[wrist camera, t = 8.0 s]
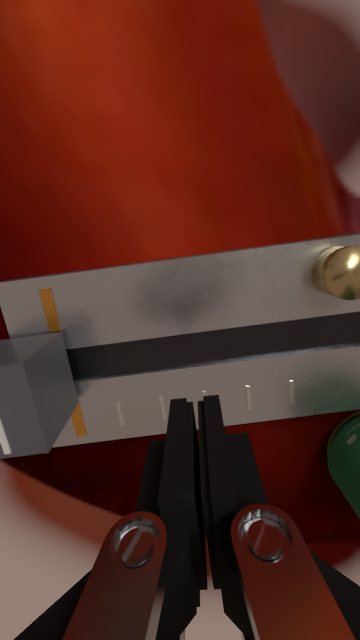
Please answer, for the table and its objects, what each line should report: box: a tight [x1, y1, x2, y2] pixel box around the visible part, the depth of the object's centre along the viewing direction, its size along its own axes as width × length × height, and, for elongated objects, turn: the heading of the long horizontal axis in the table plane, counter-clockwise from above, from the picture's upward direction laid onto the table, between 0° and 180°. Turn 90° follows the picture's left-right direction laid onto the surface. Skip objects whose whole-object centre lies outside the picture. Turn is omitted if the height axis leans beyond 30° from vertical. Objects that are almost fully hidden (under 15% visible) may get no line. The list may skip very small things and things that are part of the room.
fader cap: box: [0, 332, 79, 459], centre depth 16 cm, size 4×5×5 cm
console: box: [0, 233, 360, 447], centre depth 19 cm, size 24×12×4 cm, turn 97°
